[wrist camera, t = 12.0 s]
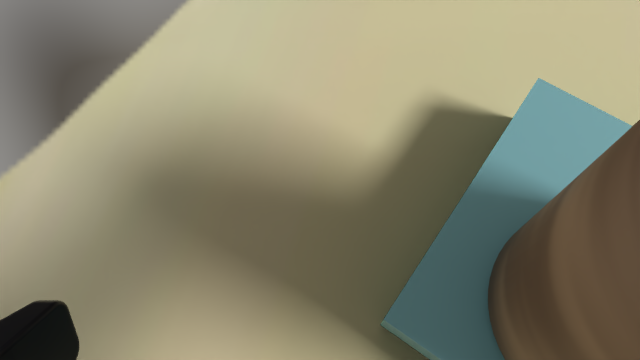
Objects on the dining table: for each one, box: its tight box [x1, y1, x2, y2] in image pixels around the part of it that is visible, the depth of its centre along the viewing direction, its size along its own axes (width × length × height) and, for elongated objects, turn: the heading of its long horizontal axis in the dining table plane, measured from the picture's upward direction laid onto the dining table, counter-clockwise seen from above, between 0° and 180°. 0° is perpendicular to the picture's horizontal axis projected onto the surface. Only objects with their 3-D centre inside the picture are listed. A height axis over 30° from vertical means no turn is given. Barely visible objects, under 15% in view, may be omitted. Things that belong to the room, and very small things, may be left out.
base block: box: [380, 78, 632, 360], centre depth 19 cm, size 11×11×4 cm
